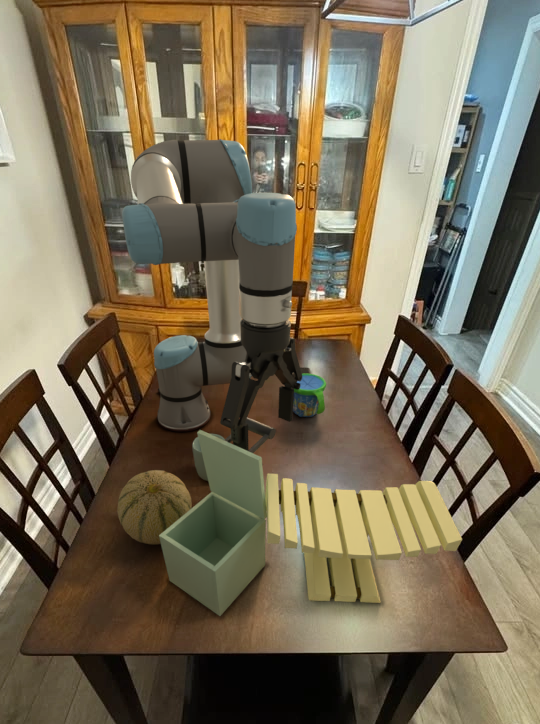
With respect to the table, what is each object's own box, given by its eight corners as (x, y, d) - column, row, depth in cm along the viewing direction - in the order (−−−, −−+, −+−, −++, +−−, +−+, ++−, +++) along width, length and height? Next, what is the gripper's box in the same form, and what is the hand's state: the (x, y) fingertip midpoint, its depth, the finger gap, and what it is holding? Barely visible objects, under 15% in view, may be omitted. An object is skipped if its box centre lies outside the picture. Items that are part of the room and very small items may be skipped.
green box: (220, 616, 72) (215, 571, 64) (169, 580, 78) (158, 535, 70) (265, 565, 81) (265, 519, 73) (216, 536, 87) (212, 491, 79)
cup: (223, 488, 98) (220, 455, 92) (191, 483, 100) (187, 450, 93) (231, 467, 104) (229, 435, 98) (202, 463, 106) (198, 431, 99)
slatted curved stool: (403, 537, 87) (429, 472, 76) (426, 604, 75) (462, 539, 64) (262, 531, 86) (267, 465, 75) (261, 598, 74) (268, 531, 63)
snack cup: (333, 421, 121) (337, 390, 115) (301, 428, 118) (303, 397, 112) (308, 396, 132) (311, 367, 126) (278, 403, 129) (279, 373, 123)
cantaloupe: (153, 499, 95) (142, 446, 86) (208, 519, 91) (202, 466, 81) (109, 544, 85) (90, 490, 76) (168, 569, 80) (156, 515, 71)
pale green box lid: (258, 460, 62) (292, 426, 68) (196, 432, 68) (232, 403, 73) (264, 519, 73) (293, 486, 78) (210, 490, 78) (240, 461, 83)
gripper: (231, 354, 52) (237, 481, 65) (328, 301, 67) (317, 412, 81) (187, 339, 55) (202, 463, 68) (290, 292, 71) (285, 400, 84)
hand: (264, 435), depth 75 cm, fingers open, 13 cm apart
